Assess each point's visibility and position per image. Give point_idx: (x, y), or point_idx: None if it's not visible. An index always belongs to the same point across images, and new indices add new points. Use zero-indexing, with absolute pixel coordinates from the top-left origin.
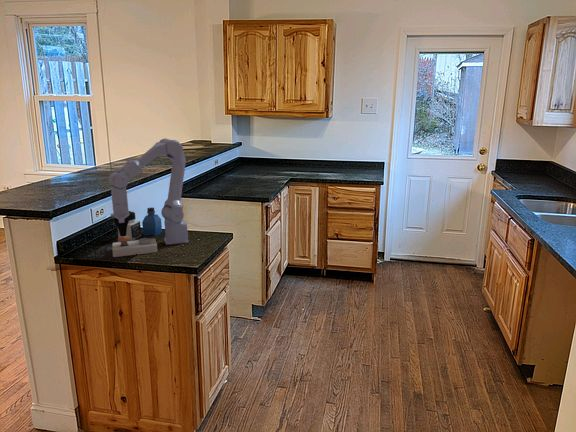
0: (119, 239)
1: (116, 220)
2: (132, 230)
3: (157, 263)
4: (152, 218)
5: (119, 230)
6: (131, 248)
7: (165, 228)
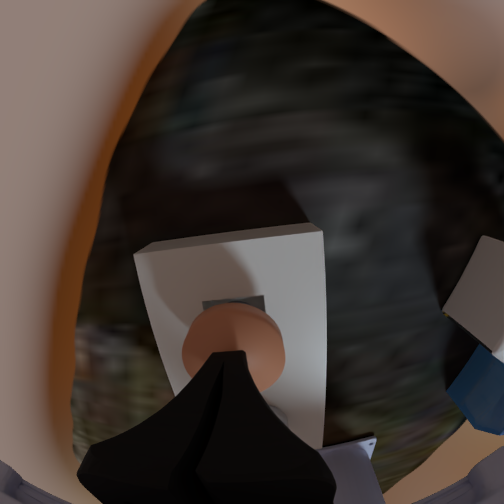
0: (190, 330)
1: (97, 489)
2: (475, 339)
3: (80, 411)
4: (496, 428)
5: (185, 392)
6: (166, 365)
7: (340, 499)
